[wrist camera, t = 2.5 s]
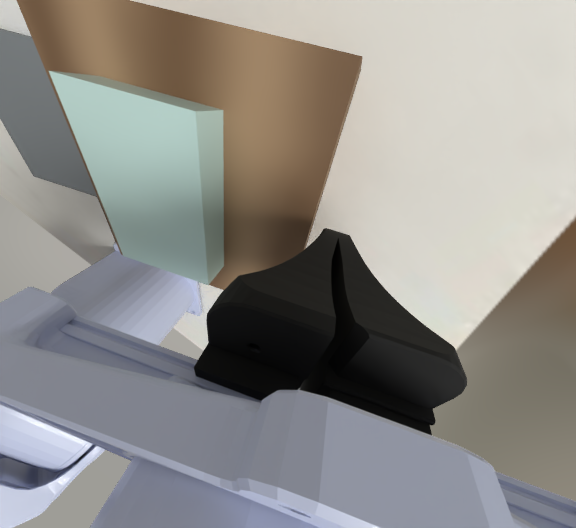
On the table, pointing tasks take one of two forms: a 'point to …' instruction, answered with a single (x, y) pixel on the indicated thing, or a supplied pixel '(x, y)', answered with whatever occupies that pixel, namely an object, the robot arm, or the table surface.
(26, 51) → the mat
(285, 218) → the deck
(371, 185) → the table surface
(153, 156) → the mint green flat block
